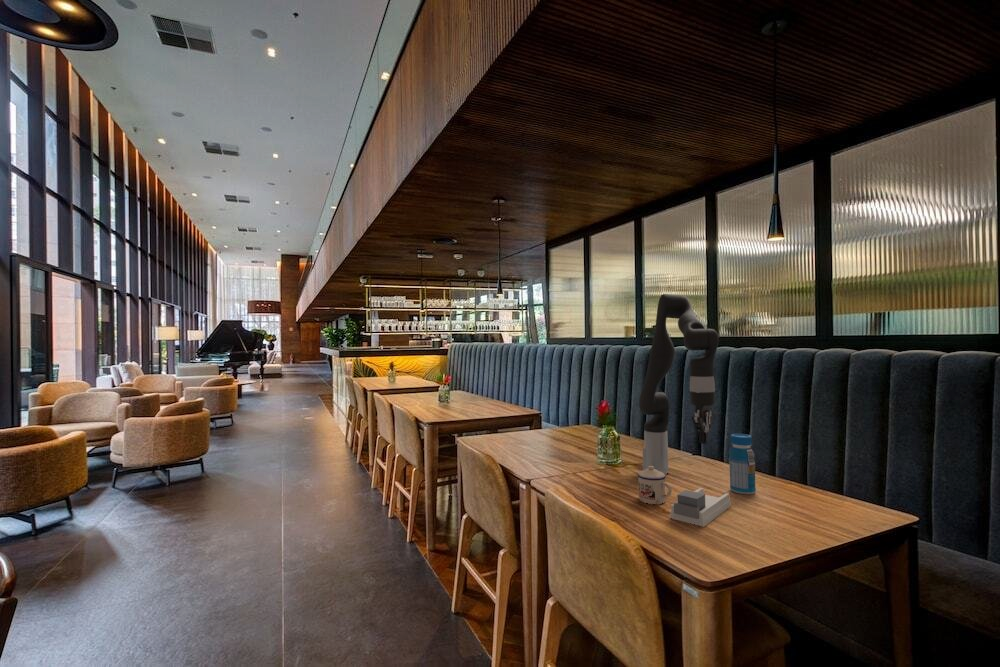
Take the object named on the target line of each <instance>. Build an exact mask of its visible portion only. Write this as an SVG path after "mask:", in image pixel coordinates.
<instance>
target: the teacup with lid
mask: <svg viewBox="0 0 1000 667" xmlns="http://www.w3.org/2000/svg"><path fill="white" fill-rule="evenodd" d="M637 478H638V481H637V482H638V500H639V501H640V502H641V501H642V502H641V503H643V502H644V504H646V503H648V504H647V505H653V504H658V505H662V503H663V504H665V503H666V499H667V498H669V497H671V494H672V492H673V490H672V486H671V484H669V483H668V482H666V474H664V473H662V472H660V471H658V470H656V469H654V466H648V469H645V470H643V469H642V470H640V471H638V473H637ZM666 487H667V490H668V491H667V494H666ZM664 502H665V503H664Z"/></svg>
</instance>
